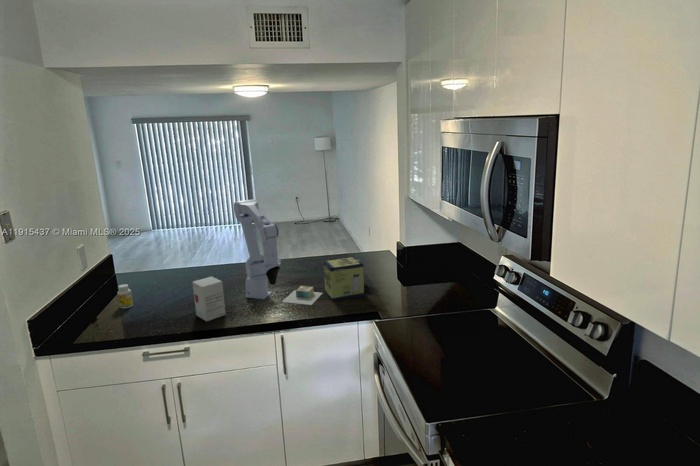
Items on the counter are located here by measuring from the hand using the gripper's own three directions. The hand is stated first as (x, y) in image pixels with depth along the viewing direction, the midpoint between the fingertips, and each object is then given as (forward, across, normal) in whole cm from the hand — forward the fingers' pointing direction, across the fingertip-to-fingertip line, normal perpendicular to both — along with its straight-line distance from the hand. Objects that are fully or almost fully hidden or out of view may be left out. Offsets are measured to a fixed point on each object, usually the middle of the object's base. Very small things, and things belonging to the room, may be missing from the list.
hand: (272, 283), depth 191 cm
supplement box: (+11, -14, +22) cm, 28 cm away
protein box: (+11, +20, -25) cm, 34 cm away
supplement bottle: (+11, -15, +64) cm, 67 cm away
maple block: (+9, +12, -8) cm, 16 cm away
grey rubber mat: (+10, +12, -8) cm, 18 cm away
